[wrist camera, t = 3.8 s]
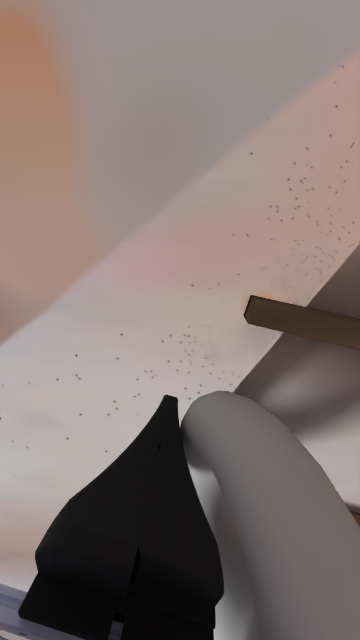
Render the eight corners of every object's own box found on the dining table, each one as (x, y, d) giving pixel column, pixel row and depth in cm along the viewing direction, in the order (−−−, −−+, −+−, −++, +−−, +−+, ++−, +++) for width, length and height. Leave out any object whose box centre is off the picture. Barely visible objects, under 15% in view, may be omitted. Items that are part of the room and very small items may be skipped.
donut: (173, 358, 10) (581, 985, 1) (225, 352, 12) (624, 669, 3) (164, 483, 13) (281, 960, 4) (207, 468, 14) (369, 814, 5)
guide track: (407, 538, 15) (446, 592, 12) (187, 476, 16) (184, 515, 13) (625, 378, 9) (779, 424, 6) (250, 295, 10) (264, 308, 7)
